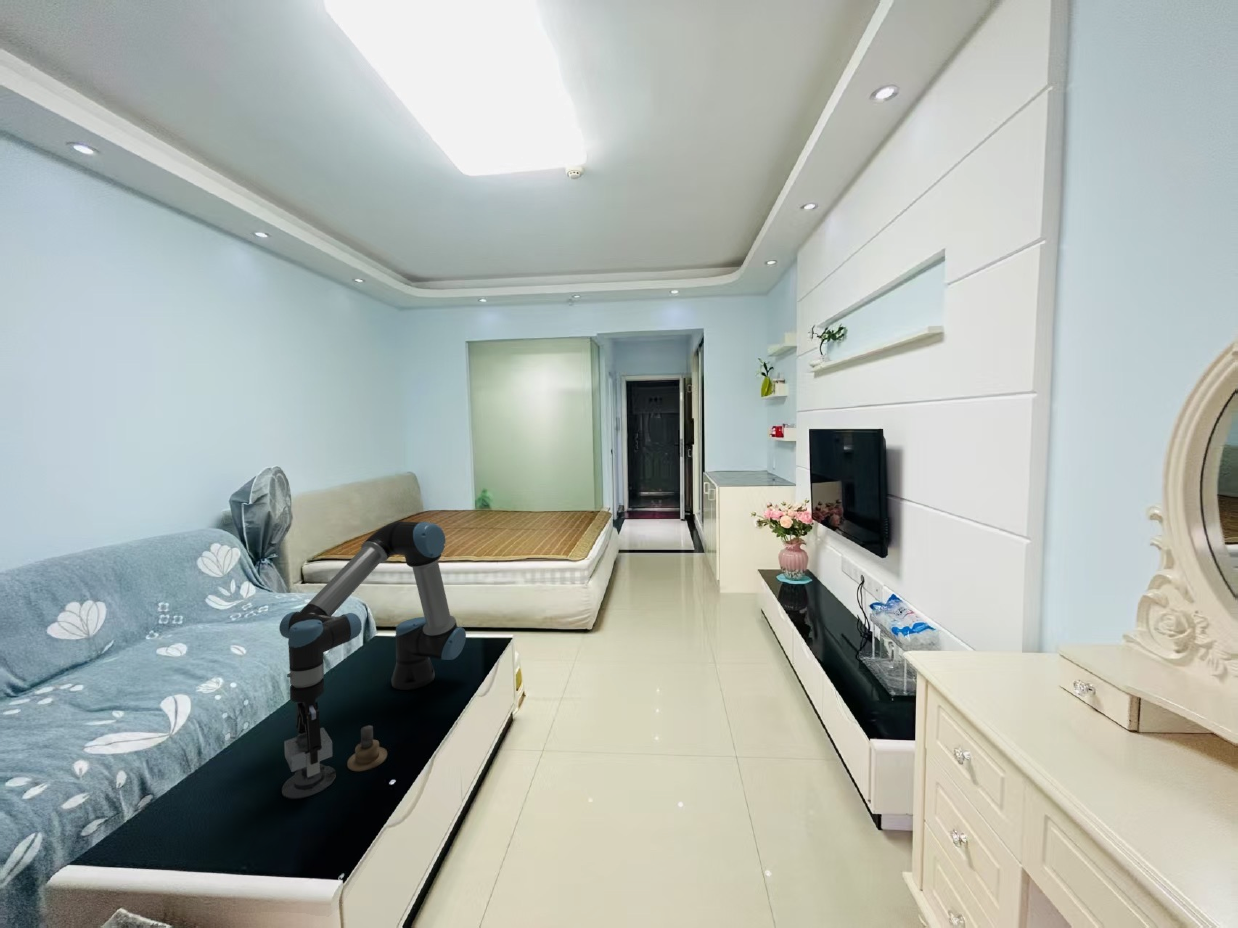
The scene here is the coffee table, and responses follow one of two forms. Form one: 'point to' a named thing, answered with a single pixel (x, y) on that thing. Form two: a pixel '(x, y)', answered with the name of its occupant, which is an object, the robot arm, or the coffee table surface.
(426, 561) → the robot arm
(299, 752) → the collar
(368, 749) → the stand
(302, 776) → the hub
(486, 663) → the coffee table surface
